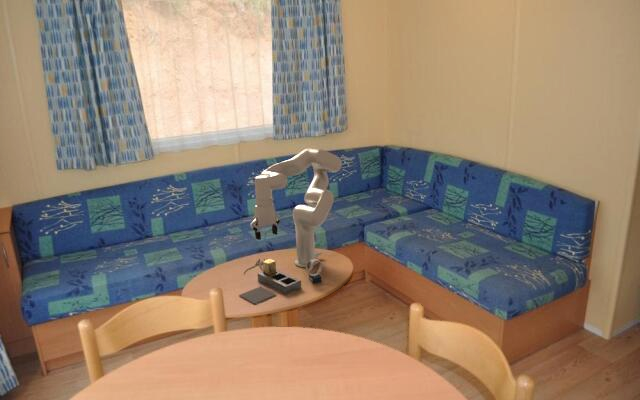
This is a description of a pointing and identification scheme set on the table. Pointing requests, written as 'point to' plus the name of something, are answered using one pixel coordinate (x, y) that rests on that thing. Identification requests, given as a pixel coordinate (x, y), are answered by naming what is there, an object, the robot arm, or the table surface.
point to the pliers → (256, 265)
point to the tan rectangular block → (269, 267)
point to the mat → (257, 295)
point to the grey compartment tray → (280, 282)
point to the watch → (315, 276)
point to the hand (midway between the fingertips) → (266, 236)
